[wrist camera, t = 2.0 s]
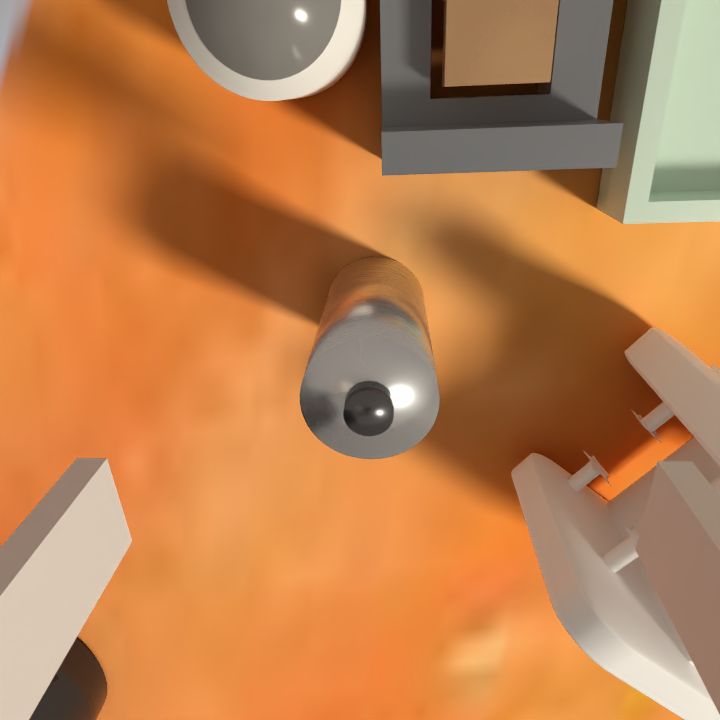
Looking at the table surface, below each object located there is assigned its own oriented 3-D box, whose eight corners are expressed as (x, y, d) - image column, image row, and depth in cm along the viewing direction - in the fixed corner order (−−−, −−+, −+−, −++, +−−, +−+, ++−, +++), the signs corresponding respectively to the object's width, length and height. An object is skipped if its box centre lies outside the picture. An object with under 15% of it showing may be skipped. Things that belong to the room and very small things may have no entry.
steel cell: (331, 347, 27) (302, 473, 18) (324, 257, 25) (289, 350, 16) (423, 346, 27) (439, 473, 18) (424, 255, 25) (443, 348, 16)
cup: (224, 101, 23) (183, 105, 18) (200, -81, 20) (144, -131, 15) (369, 95, 22) (364, 96, 18) (365, -92, 20) (357, -146, 15)
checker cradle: (383, 159, 23) (382, 176, 19) (378, -110, 19) (375, -170, 15) (575, 153, 23) (620, 169, 18) (610, -126, 19) (679, -192, 14)
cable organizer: (487, 444, 30) (541, 637, 19) (645, 300, 26) (820, 445, 15) (669, 574, 33) (797, 797, 23) (833, 466, 29) (1079, 675, 19)
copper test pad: (442, 86, 20) (444, 86, 19) (445, -34, 18) (447, -41, 17) (543, 82, 20) (550, 82, 19) (554, -40, 18) (563, -47, 17)
